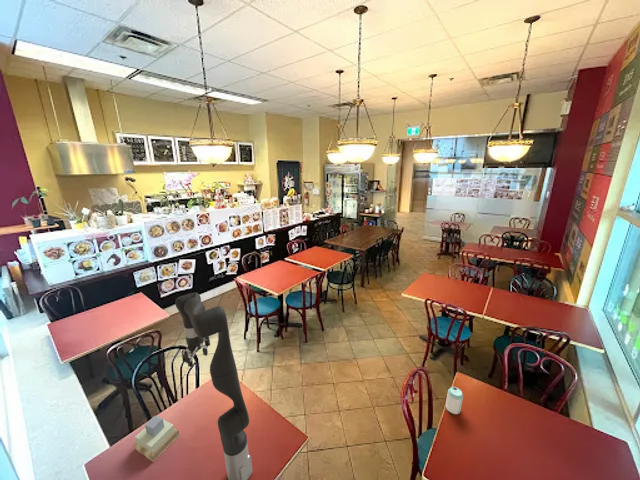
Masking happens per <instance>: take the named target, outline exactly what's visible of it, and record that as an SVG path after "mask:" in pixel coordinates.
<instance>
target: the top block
mask: <svg viewBox="0 0 640 480" xmlns="http://www.w3.org/2000/svg"><path fill="white" fill-rule="evenodd" d="M156 416H157V415H156ZM157 417H160V416H157ZM162 419H163V423H164V428H163V429H162V430H161V431H160V432H159V433H158V434H157V435H156V436H155V437H154V436H152V435H149V434H147V432H146V428H145V427H144V428H143V429H142V430H140V432H138V433H137V434H136V435H135V436H134V438H135V442H137V444H139V445H140V446H142V447H143V448H145V449H146V450H148V451H150V452H151V453H154V452H155V451H156V450H157V449H158V448H159V447H160V446H161V445H162V444H163V443H164V442H165V441H166V440H167V439H168V438H169V437H170V436H171V435H172V434H173V433H174V432H175V429H174V428H175V426H174V424H173V423H171V422H169V421H167V420H165V419H164V418H162Z"/></svg>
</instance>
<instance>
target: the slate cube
mask: <svg viewBox="0 0 640 480" xmlns="http://www.w3.org/2000/svg"><path fill="white" fill-rule="evenodd" d="M163 419H164V418H163V417H160V416H159V417H157V415H154V416H152V417H151V418H150V419H149V420H148V421H147V422H146V423H145V424H144V428H146V432H147V434H149V435H152V436H154V437H155V436H156V435H157V434H158V433H159V432H160V431H161V430H162V429H163V428H164V423H163Z"/></svg>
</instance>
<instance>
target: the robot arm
mask: <svg viewBox="0 0 640 480" xmlns="http://www.w3.org/2000/svg"><path fill="white" fill-rule="evenodd" d="M174 304H175V307H176V310H177V311H178V312H179V314H180V316H181V317H182V321H183V322H182V323H183V331H184V332H183V333H184V335H185V336H184V337H185V341H186V345H187V348H186V349H185V350H184V349H182V350H181V357H182V362H184V363H186V364H187V367H190V368H193V367H194V361H193V358H194V357H195V356H196V355H195V354H196V353H197V352H198V351H200V350H201V349H202V354H203V356H205V357H206V356H208V353H209V351H208V348H209V346H211V340H210V337H212V335H216V334H217V335H218V337H217V345H216V348H215V351H214V353H213V356H212V358H211V361H210V365H209V373H210V377H211V381H212V386H213V387H214V388H215V389H216V391H218V392H219V393H221V394H222V395H225V396H226V397H228V398H229V399H230V400H231V401H232V403H233V407H231V408H229V409H228V410H226V411H225V412H224V413H223V414H221V415H220V416H219V417H218V419H217V428H218V431H219V435H220V440H221V445H222V449H223V456H224V463H225V469H226V470H225V471H226V474H227V475H226V476H227V480H248V479H250V477H251V475H252V473H253V472H254V471H253V462H252V456H251V455H250V453H249V446H248V445H249V444H248V439H247V438H248V436H247V434H246V433H247V432H245V429H247V427H248V426H249V424H250V416H249V413H248V409H247V406H246V403H245V399H244V396H243V393H242V389H241V384H240V380H239V379H240V378H239V373H238V370H237V369H238V367H237V364H236V360H235V356H234V352H233V349H232V344H231V338H230V331H229V322H228V318H227V313H226V311H225V309H224V308H223V307H222V306H221V305H217V306H214V307H211V308H208V309H206V307H205V306H206V305H205V304H204V302H202V299H201V294H200V293H198V292H191V293H187V294H184V295H180V296H179V297H177V298H176V299H175V303H174Z"/></svg>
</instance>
